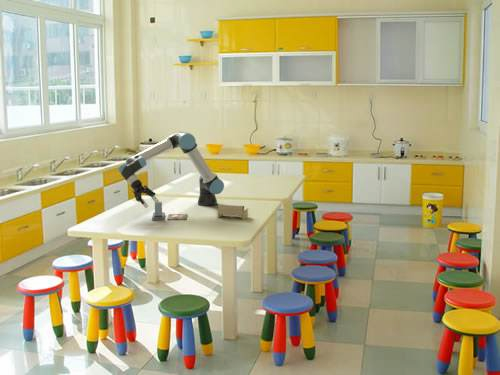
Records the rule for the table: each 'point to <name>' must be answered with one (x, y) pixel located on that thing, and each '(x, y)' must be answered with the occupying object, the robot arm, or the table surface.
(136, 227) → the table surface
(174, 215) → the walnut pad
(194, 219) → the table surface
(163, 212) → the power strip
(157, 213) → the brick
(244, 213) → the toy sofa
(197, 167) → the robot arm
